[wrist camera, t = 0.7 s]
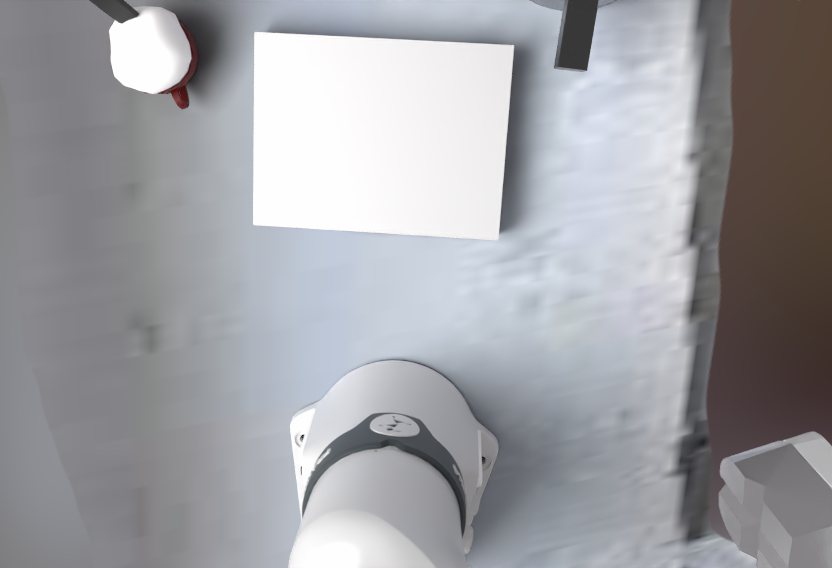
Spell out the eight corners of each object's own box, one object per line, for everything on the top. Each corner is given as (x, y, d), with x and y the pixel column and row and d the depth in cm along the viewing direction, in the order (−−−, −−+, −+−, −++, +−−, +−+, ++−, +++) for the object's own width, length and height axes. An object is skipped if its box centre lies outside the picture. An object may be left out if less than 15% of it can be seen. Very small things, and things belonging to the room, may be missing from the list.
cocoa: (211, 107, 60) (163, 113, 48) (135, 109, 60) (70, 115, 48) (199, -16, 57) (146, -41, 46) (120, -15, 57) (47, -39, 46)
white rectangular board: (264, 219, 62) (496, 234, 61) (253, 224, 59) (498, 240, 58) (265, 37, 59) (511, 49, 58) (254, 32, 56) (514, 45, 55)
